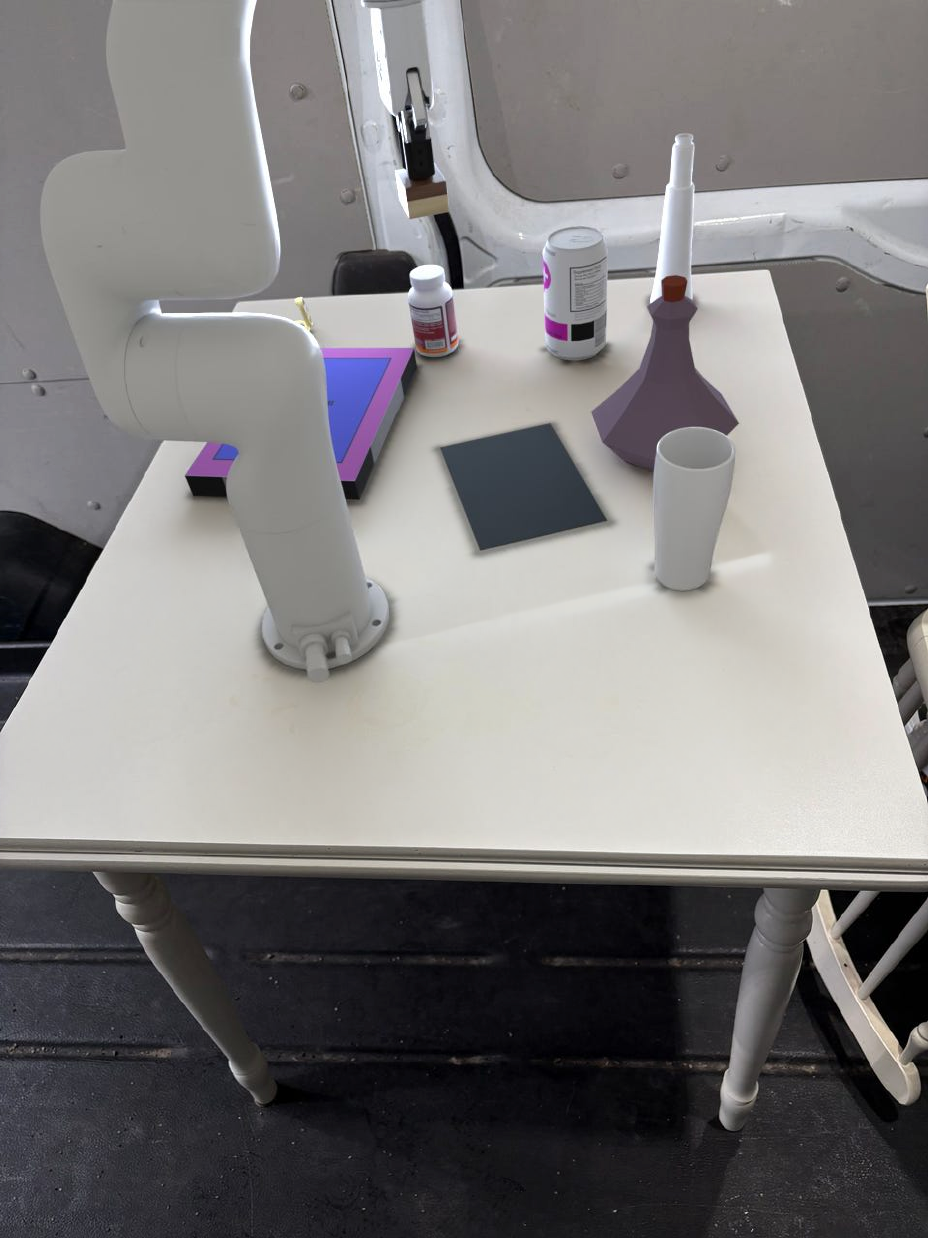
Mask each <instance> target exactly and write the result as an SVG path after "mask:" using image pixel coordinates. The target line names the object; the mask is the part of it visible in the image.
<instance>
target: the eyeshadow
mask: <svg viewBox="0 0 928 1238" xmlns="http://www.w3.org/2000/svg"><path fill="white" fill-rule="evenodd" d="M294 303H295V305H296V306H297V307H299V311H300V314H301V316H302V318H303V320H304V321H303V320H293V321H294V322H296V323H298V324H300V325H301V326H303V327H304V328H306V329H307V330H308V331H309V332H311V328H310V327H312V326H313V325H314V323H313V319H312V316H311V313H310V311H309V308H308V306H307V303H306V301H305V298H304V297H302V296H300V297H296V298H294Z"/></svg>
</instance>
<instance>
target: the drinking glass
mask: <svg viewBox="0 0 928 1238" xmlns="http://www.w3.org/2000/svg"><path fill="white" fill-rule="evenodd" d="M736 451H737V450H736V445H735V443H734V441H733V440H732V439H731V438H730V437H729V436H728V435H727V436H726V435H725V434H723V433H721V432H719V431H716V430H713V429H709V428H704V427H686V428H680V429H677V430H674V431H671V432H669V433H667V434H666V435H664V436H663V437H662V438H661V439H660V441H659V442H658V445H657V450H656V457H655V465H654V472H653V477H652V499H653V500H652V502H653V504H652V505H653V527H654V528H653V531H654V532H653V533H654V535H653V536H654V560H653V573H654V576H655V579H657V581H658V582H659V583H660V584H662V586H664V587H666V588H668V589H670V590H674V591H679V592H687V591H692V590H696V589H698V588H700V587H702V586H703V585H704V584H705V583H706V582H707V581H708V580H709V577H710V575H711V569H712V568H711V567H712V563H713V557H714V554H715V551H716V546H717V542H718V539H719V535H720V531H721V527H722V523H723V521H724V517H725V513H726V509H727V505H728V502H729V498H730V494H731V491H732V484H733V480H734V474H735V473H734V472H735V464H736V463H735V462H736Z"/></svg>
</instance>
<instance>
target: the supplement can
mask: <svg viewBox="0 0 928 1238" xmlns="http://www.w3.org/2000/svg"><path fill="white" fill-rule="evenodd" d="M608 268H609V246H608V244H607V241H606V240H605V238H604V234H603V232H602V231H601V230H599V229H598V228H595V227H592V226H585V225H576V226H567V227H563V228H560V229H559V228H558V229H556V230H554V231H552V232H551V233H550V234H548V237H546V243H545V245H544V247H543V249H542V273H543V274H542V276H543V277H542V279H543V306H544V311H543V312H544V338H545V339H544V340H545V347H546V350H548V352H549V353H551V354H552V355H553V356H554V357H556V358H558V359H561V360H566V361H582V360H586V359H590V358H592V357H594V356H596V355H597V354H598V353H600V352H601V350H602V349H604V348H605V345H606V343H607V317H608V316H607V315H608V313H607V311H608V270H609V269H608Z"/></svg>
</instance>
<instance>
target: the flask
mask: <svg viewBox="0 0 928 1238" xmlns="http://www.w3.org/2000/svg"><path fill="white" fill-rule="evenodd" d="M687 282H688V281H687V280H686V278H685V277H682V276H678V275H673V276H666V277H665V278H664V279H662V280H661V287H662V296H661V297H659V298H657V299H656V300H655V301H653V302H652V303H649V304H648V305H647V306H646V308H647V310H648V313H649V315H650V318H651V320H652V327H651V332H650V337H649V340H648V343H647V345H646V348H645V352H644V354H643V357H642V359H641V362H640V365H639V367H638V369H637V370H636V371H635V372H634V373H633V374H632V375H631V376H630V377H629V378H628V379H627V380H626V381H625V382H624V383H623V384H622V385H621V386H620V387H619V388H617V389H616V390H615V391H614V392H612V394H611V395H609V396H608V397H607V398H606V399H604V400H603V401H601V403H600V404H598V405H597V406H596V407H595V408H594V409H593V410H591V411H590V413H591V415H592V418H593V421H594V423H595V426H596V429H597V432H598V434H599V438H600V441H601V442H602V444H604V445H605V446H606V447H607V448H608V449H609V450H611V451H612V453H614V454H616V455H617V456H618V457H619V458H621V459H622V460H623V461H624V462H626V463H628V464H631V465H634V466H637V467H639V468H642V469H645V470H648V471H649V472H653V473H654V465H655V457H656V450H657V445H658V442H659V441H660V439H661V438H662V437H663V436H664V435H666V434H667V433H669V432H671V431H674V430H677V429H680V428H686V427H704V428H709V429H713V430H716V431H719V432H721V433H723V434H725V435H726V436H727V437H728V435H730V434H731V432H732V431H733V430H734V429H735V428H736V427H737V426H738V425H740V423H739V420H738V419H737V417H736V415H735V414H734V411H733V410H732V409H731V407H730V405H729V404H728V402H727V401H726V399H725V397H724V395H723V393H722V392H721V391H720V390H718V389H717V388H716V387H715V386H714V385H713V384H711V383H710V381H708V380H707V379H706V378H705V377H704V376H703V375H702V374H701V373H700V371H698V369H697V367H695V361H694V357H693V350H692V345H691V340H690V323H691V321H692V319H693V318H694V316H695V314H696V313H697V312H698V309H699V308H698V306H697V305H696V303H695V301H694V300H691V299H690V298H688V297H687V296H685V291H686V286H687Z"/></svg>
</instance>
